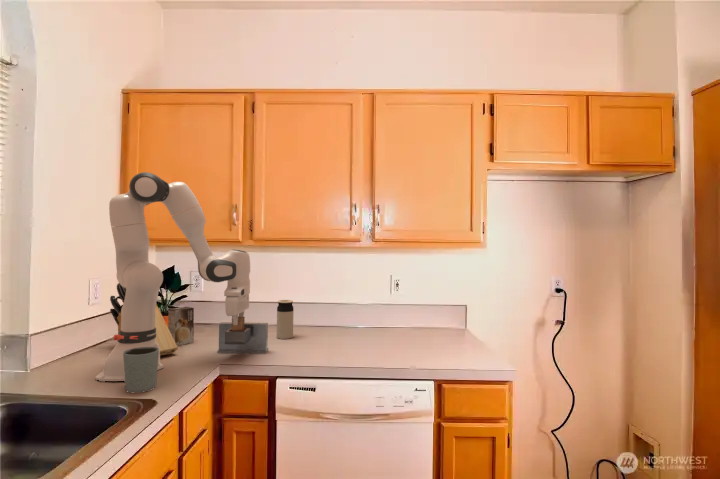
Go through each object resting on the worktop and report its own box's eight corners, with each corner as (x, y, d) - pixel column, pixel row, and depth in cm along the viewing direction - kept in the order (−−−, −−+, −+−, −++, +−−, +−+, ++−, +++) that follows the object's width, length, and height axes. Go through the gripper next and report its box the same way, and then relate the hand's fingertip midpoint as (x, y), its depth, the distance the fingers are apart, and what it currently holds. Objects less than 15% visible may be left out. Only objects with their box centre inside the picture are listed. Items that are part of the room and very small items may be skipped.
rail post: (241, 340, 162) (241, 318, 162) (231, 340, 162) (231, 318, 162) (244, 338, 166) (244, 316, 166) (234, 338, 166) (234, 316, 166)
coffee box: (186, 340, 189) (187, 306, 190) (193, 342, 186) (194, 307, 186) (167, 344, 182) (168, 308, 182) (174, 346, 178) (175, 310, 178)
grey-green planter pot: (138, 396, 121) (138, 356, 121) (114, 391, 125) (115, 352, 125) (165, 385, 131) (166, 348, 131) (142, 380, 135) (143, 344, 135)
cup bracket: (259, 359, 160) (260, 329, 160) (209, 359, 160) (209, 328, 160) (268, 349, 175) (268, 322, 175) (222, 349, 175) (222, 321, 175)
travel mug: (277, 339, 193) (277, 302, 193) (275, 336, 201) (276, 299, 201) (293, 338, 195) (294, 301, 195) (292, 335, 203) (292, 299, 203)
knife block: (132, 342, 184) (133, 274, 185) (178, 354, 166) (179, 279, 166) (106, 347, 175) (107, 276, 175) (151, 361, 156) (153, 281, 156)
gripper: (238, 286, 175) (238, 318, 174) (222, 292, 154) (221, 328, 154) (253, 286, 175) (252, 318, 174) (239, 292, 154) (238, 328, 154)
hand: (238, 323), depth 164 cm, fingers open, 5 cm apart
